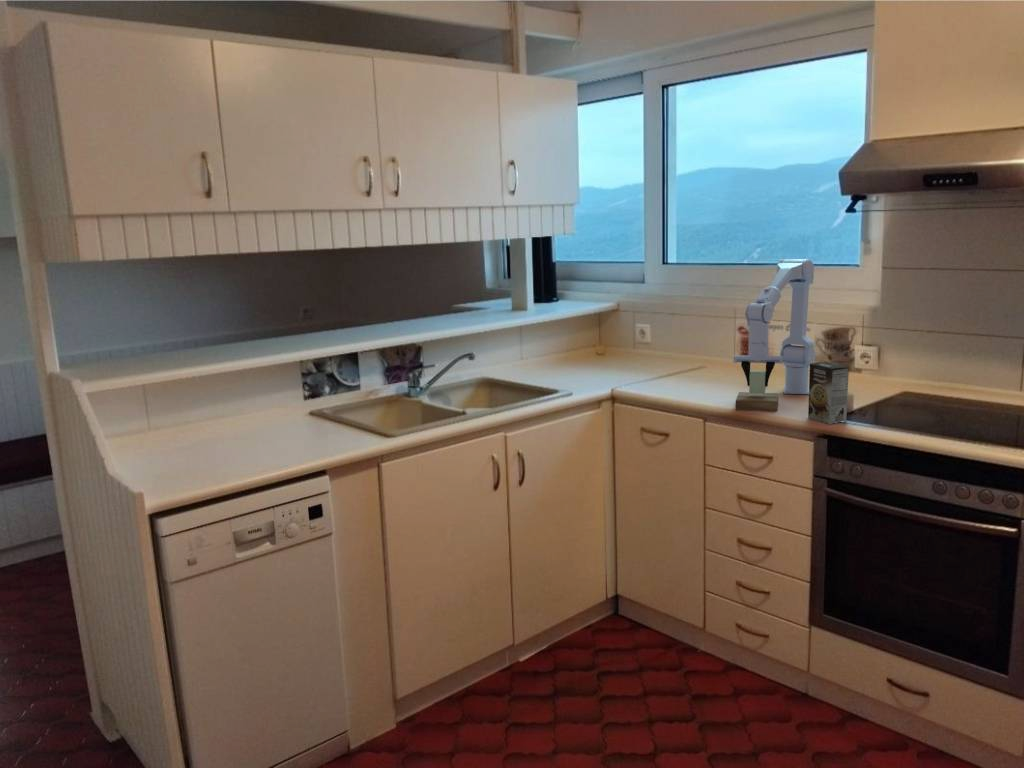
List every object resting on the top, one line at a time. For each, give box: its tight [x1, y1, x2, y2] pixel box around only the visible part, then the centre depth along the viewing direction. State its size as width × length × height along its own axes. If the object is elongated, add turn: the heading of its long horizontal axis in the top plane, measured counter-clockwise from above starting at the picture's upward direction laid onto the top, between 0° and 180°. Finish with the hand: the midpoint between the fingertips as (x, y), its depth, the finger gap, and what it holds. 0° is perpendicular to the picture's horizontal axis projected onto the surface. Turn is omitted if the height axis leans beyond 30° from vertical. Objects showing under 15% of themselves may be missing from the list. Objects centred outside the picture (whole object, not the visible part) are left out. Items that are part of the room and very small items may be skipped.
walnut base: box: [735, 391, 780, 412], centre depth 253 cm, size 12×12×3 cm
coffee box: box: [807, 361, 850, 425], centre depth 232 cm, size 9×6×16 cm
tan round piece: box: [847, 392, 855, 413], centre depth 243 cm, size 5×5×5 cm
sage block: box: [748, 370, 766, 393], centre depth 251 cm, size 4×4×6 cm
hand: (757, 385), depth 252 cm, fingers closed on sage block, 4 cm apart
